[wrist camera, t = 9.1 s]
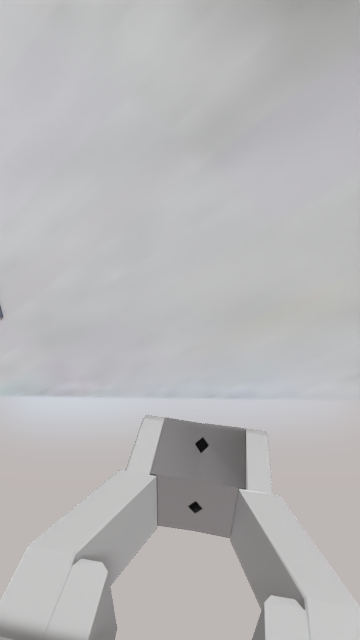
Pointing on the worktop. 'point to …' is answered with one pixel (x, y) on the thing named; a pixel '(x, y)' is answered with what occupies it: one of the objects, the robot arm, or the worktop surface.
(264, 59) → the worktop surface
